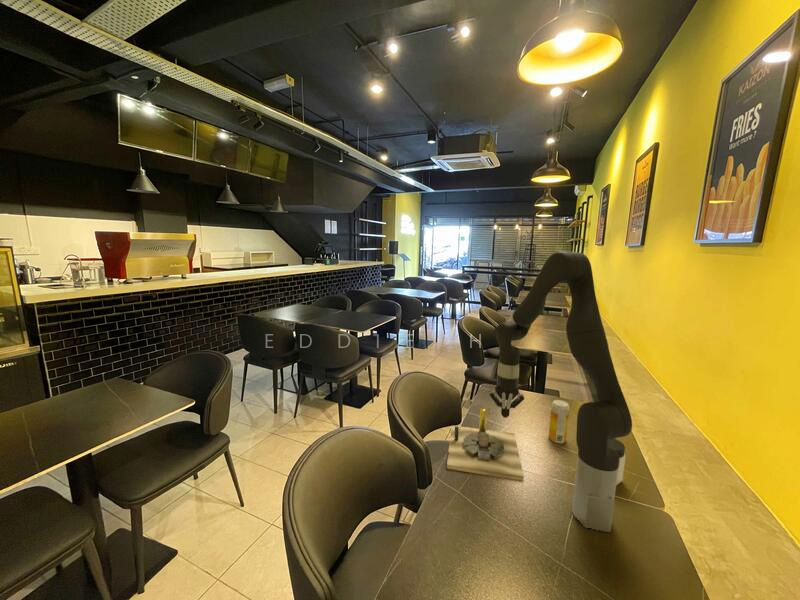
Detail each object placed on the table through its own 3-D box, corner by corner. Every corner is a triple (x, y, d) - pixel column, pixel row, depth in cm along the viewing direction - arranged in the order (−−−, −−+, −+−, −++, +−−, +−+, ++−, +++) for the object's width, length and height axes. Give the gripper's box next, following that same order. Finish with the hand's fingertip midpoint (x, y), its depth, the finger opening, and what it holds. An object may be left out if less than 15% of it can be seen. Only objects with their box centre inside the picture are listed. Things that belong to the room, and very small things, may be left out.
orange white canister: (562, 435, 124) (565, 399, 121) (568, 445, 118) (572, 407, 115) (546, 434, 125) (549, 398, 122) (552, 443, 119) (555, 406, 116)
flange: (505, 462, 105) (507, 437, 104) (462, 456, 108) (463, 431, 107) (500, 431, 123) (502, 409, 121) (464, 427, 126) (465, 405, 124)
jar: (589, 479, 100) (593, 445, 98) (588, 464, 107) (592, 432, 105) (623, 490, 96) (628, 454, 94) (620, 473, 103) (625, 440, 101)
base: (523, 480, 100) (524, 462, 99) (446, 468, 105) (447, 450, 104) (514, 436, 123) (515, 421, 122) (451, 428, 128) (452, 413, 127)
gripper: (490, 376, 115) (487, 419, 118) (528, 379, 112) (524, 424, 115) (489, 368, 123) (486, 409, 126) (525, 371, 120) (521, 413, 123)
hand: (504, 416), depth 121 cm, fingers closed
